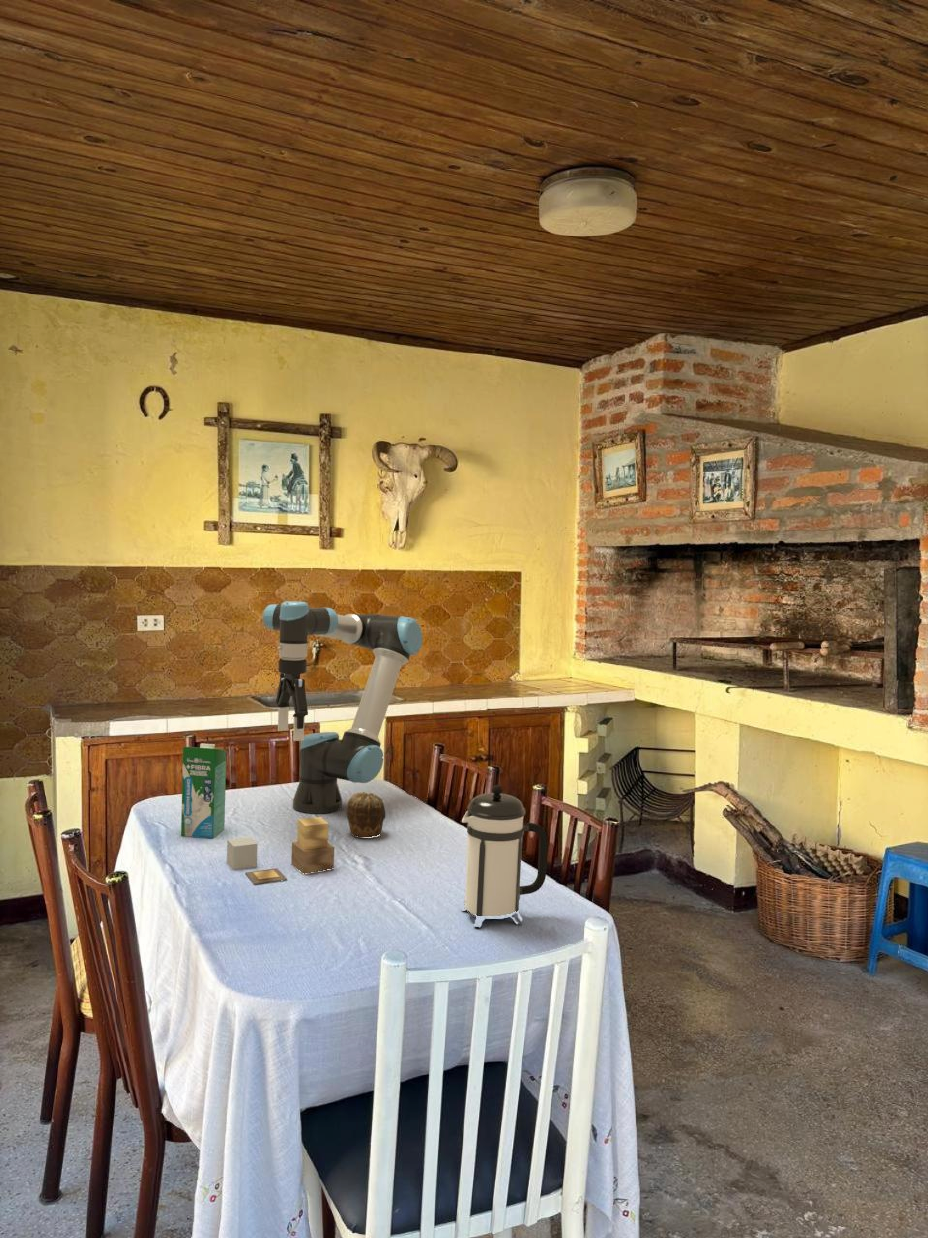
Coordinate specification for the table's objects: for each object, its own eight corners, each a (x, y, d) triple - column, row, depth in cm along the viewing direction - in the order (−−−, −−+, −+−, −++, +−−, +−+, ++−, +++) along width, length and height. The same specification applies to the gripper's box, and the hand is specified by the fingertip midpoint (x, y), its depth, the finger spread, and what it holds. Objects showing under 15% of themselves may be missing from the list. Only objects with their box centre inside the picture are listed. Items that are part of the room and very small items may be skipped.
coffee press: (508, 938, 193) (515, 799, 191) (444, 920, 201) (450, 785, 199) (545, 913, 208) (552, 783, 205) (485, 896, 216) (490, 771, 214)
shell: (338, 837, 255) (339, 795, 254) (357, 827, 265) (358, 786, 265) (372, 843, 251) (374, 800, 250) (390, 833, 261) (392, 791, 261)
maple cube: (319, 840, 234) (320, 817, 234) (327, 847, 229) (328, 823, 228) (297, 842, 231) (297, 819, 231) (304, 849, 226) (305, 826, 226)
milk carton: (224, 829, 258) (226, 741, 257) (212, 838, 249) (214, 748, 248) (193, 826, 259) (195, 739, 257) (180, 836, 250) (182, 746, 248)
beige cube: (250, 859, 235) (250, 836, 234) (256, 867, 229) (257, 843, 229) (226, 862, 232) (227, 839, 231) (233, 870, 226) (233, 846, 226)
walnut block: (320, 861, 236) (321, 838, 236) (333, 870, 229) (334, 847, 229) (291, 865, 232) (291, 842, 231) (303, 875, 225) (304, 851, 225)
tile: (277, 869, 228) (277, 867, 228) (287, 880, 221) (287, 877, 221) (245, 874, 224) (245, 871, 224) (254, 885, 217) (254, 882, 217)
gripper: (265, 653, 258) (263, 727, 260) (294, 664, 236) (291, 745, 238) (291, 652, 262) (289, 726, 263) (321, 663, 240) (319, 743, 241)
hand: (290, 735), depth 251 cm, fingers open, 13 cm apart
